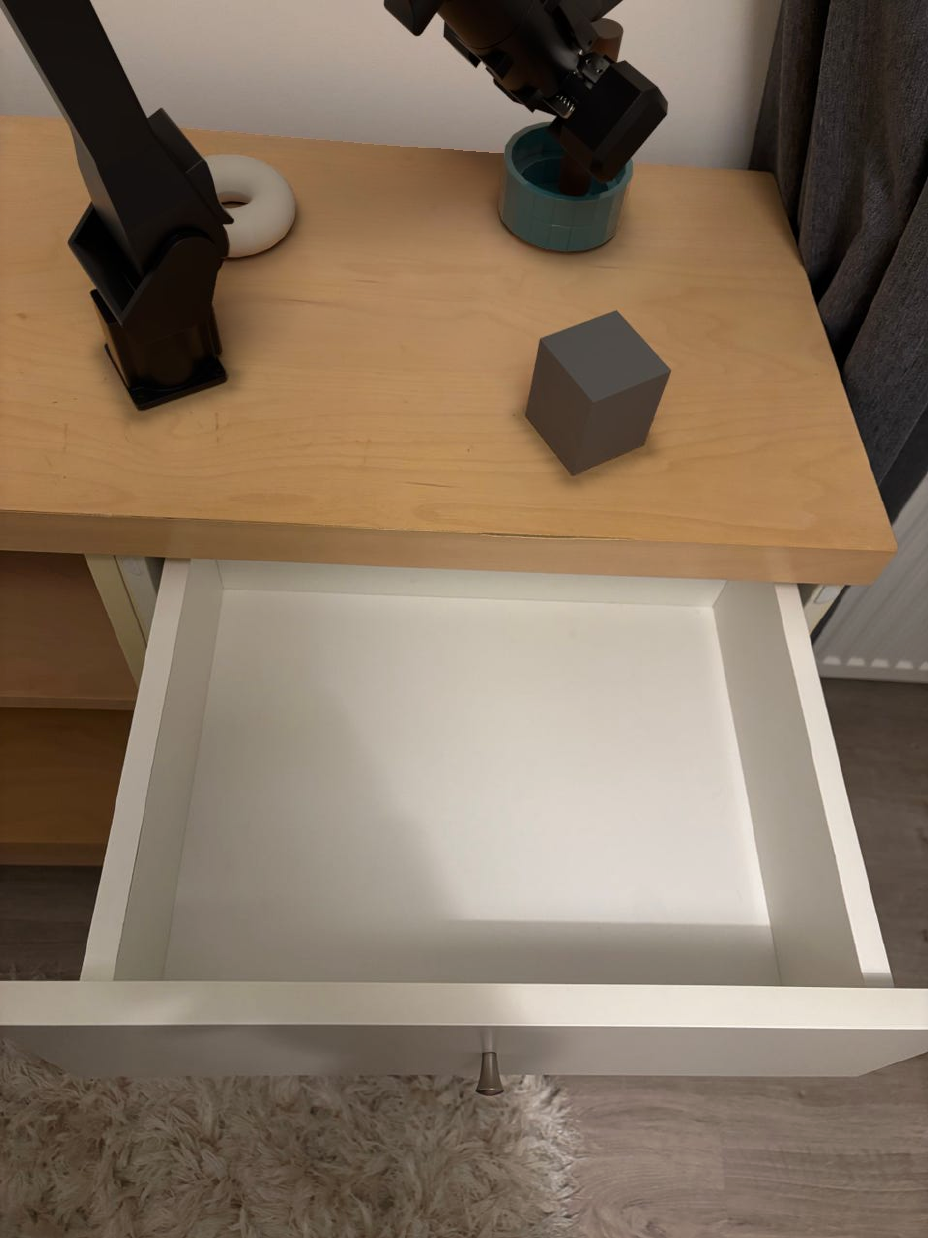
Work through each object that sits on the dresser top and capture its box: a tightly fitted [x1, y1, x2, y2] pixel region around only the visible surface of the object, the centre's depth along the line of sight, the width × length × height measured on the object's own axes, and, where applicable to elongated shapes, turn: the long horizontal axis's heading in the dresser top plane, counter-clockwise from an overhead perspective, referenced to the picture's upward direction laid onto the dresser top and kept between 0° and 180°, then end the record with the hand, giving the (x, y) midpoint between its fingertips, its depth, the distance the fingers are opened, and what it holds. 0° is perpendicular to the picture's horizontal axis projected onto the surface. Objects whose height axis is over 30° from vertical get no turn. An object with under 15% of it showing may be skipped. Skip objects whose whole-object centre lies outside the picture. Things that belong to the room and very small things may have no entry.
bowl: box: [497, 120, 634, 253], centre depth 72 cm, size 10×10×5 cm
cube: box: [524, 309, 672, 476], centre depth 59 cm, size 6×6×7 cm
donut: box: [202, 153, 297, 258], centre depth 69 cm, size 10×4×10 cm
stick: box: [557, 17, 625, 197], centre depth 67 cm, size 3×3×12 cm
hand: (598, 127), depth 69 cm, fingers closed on stick, 2 cm apart
